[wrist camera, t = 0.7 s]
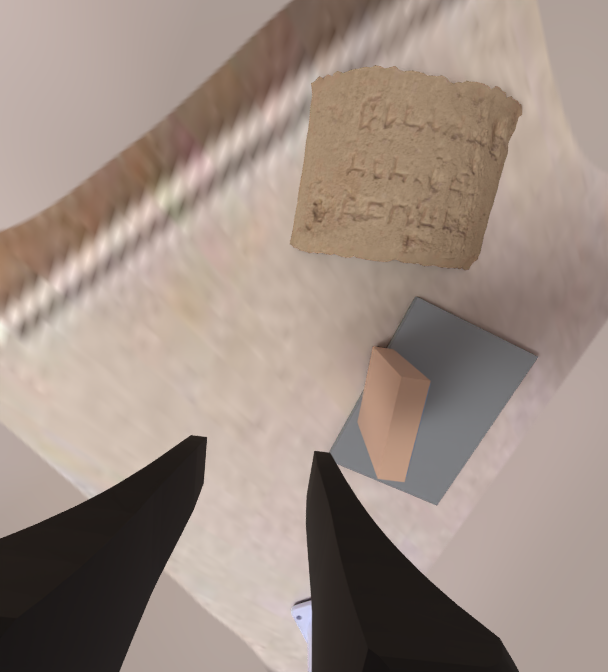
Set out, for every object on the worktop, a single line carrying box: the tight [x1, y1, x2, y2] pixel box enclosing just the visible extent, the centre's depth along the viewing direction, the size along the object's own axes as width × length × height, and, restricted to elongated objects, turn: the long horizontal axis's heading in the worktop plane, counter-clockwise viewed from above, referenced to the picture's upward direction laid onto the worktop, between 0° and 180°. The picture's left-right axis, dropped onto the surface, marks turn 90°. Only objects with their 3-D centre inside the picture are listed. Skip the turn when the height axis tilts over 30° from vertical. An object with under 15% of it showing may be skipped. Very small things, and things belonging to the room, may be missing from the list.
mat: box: [329, 297, 538, 505], centre depth 21 cm, size 14×10×1 cm
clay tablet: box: [290, 65, 522, 270], centre depth 17 cm, size 14×10×3 cm
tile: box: [357, 346, 431, 482], centre depth 18 cm, size 6×2×6 cm, turn 172°
